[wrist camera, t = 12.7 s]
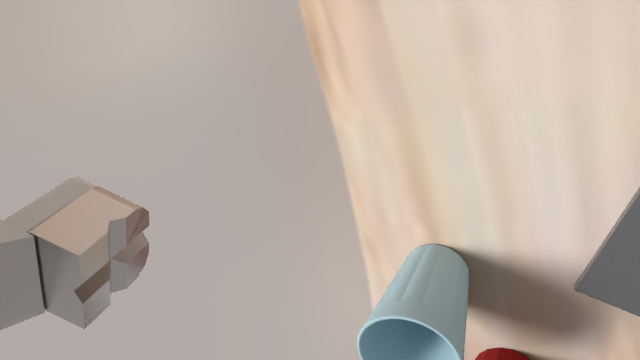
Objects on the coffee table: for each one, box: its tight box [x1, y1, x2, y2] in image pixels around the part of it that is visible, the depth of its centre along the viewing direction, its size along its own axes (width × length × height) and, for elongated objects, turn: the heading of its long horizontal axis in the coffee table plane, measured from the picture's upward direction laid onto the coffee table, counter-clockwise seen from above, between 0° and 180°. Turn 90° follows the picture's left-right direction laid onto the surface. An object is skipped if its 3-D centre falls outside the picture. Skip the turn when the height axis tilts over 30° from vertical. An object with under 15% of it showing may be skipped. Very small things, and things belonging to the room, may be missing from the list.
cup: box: [357, 244, 469, 360], centre depth 43 cm, size 8×8×10 cm
